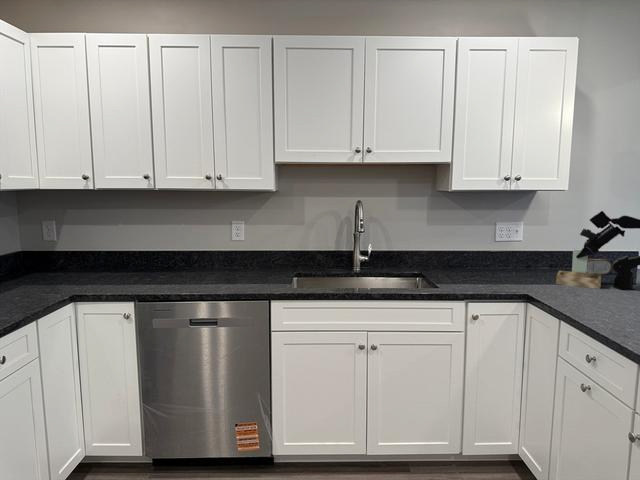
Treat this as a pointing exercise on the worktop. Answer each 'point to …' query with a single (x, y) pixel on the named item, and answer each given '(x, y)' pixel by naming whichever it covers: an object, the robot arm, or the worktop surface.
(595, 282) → the wooden board
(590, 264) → the tin
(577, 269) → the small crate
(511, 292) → the worktop surface
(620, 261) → the robot arm
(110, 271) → the worktop surface
